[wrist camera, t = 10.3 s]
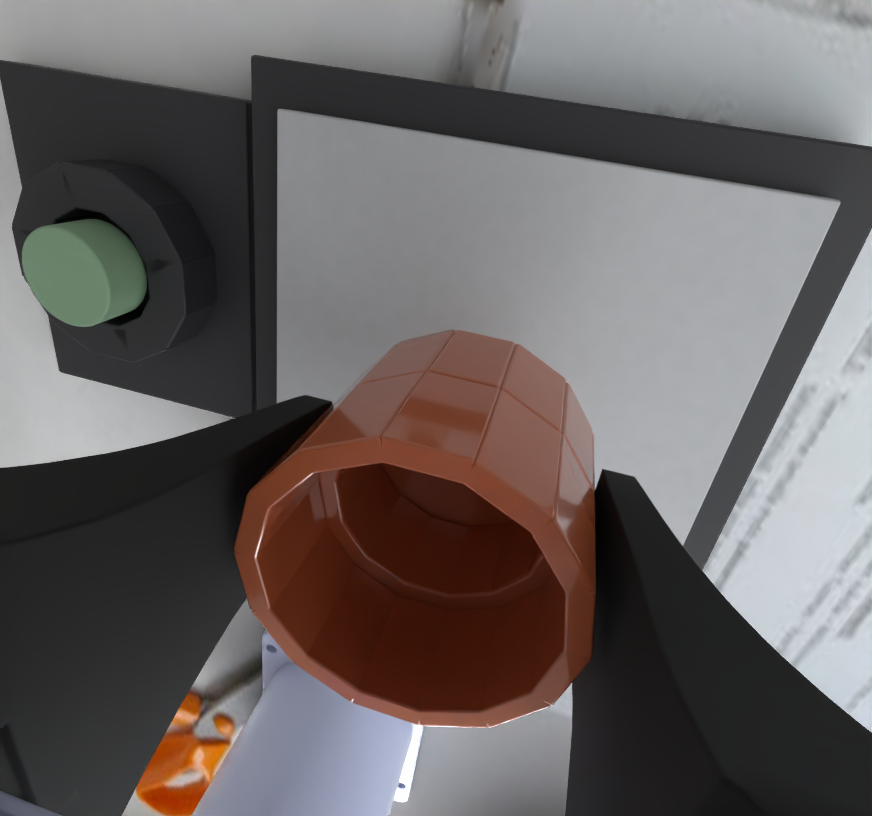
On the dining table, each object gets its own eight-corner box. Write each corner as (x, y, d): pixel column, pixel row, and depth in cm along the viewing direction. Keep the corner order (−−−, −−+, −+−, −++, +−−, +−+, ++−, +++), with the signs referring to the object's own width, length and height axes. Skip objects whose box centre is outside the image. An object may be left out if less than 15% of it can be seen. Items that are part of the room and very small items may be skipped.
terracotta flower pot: (560, 561, 13) (546, 770, 9) (346, 502, 14) (237, 666, 10) (628, 356, 11) (655, 506, 6) (362, 298, 12) (225, 396, 7)
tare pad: (266, 412, 20) (227, 445, 18) (77, 363, 21) (19, 389, 19) (264, 102, 15) (210, 96, 13) (23, 63, 17) (-63, 52, 14)
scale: (659, 587, 19) (670, 658, 17) (290, 485, 21) (248, 534, 19) (858, 150, 13) (928, 152, 10) (297, 65, 15) (235, 50, 12)
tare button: (153, 321, 17) (115, 337, 16) (74, 302, 17) (31, 316, 16) (143, 228, 16) (101, 236, 14) (58, 210, 16) (10, 217, 15)
